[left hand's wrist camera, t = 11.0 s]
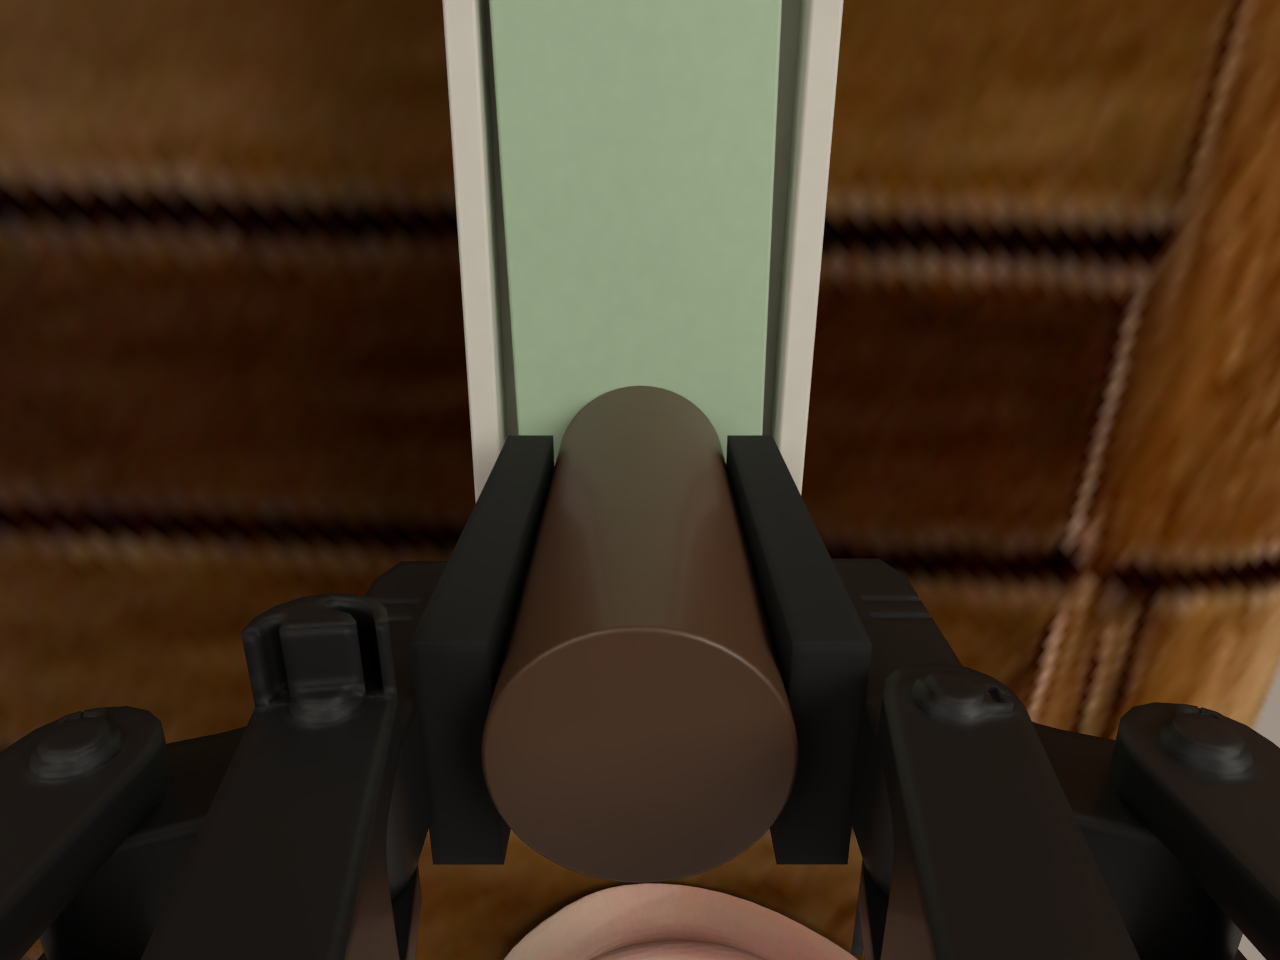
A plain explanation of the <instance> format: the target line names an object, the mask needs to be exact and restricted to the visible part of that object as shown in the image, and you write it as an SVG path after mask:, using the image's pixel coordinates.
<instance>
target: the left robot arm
mask: <svg viewBox="0 0 1280 960" xmlns="http://www.w3.org/2000/svg"><path fill="white" fill-rule="evenodd" d="M726 466H727V469H728V473H729V477H730V481H731V485H732V488H733V492H734V496H735V500H736V503H737V507H738V511H739V515H740V519H741V522H742V526H743V530H744V534H745V537H746V541H747V545H748V549H749V553H750V556H751V560H752V564H753V568H754V572H755V575H756V579H757V583H758V587H759V590H760V594H761V598H762V602H763V606H764V609H765V613H766V617H767V621H768V625H769V628H770V632H771V636H772V640H773V643H774V647H775V651H776V655H777V659H778V662H779V666H780V670H781V674H782V678H783V681H784V685H785V689H786V693H787V696H788V700H789V704H790V708H791V712H792V715H793V719H794V723H795V727H796V733H797V738H798V757H799V760H798V767H797V773H796V778H795V781H794V785H793V788H792V791H791V794H790V796H789V798H788V800H787V802H786V804H785V806H784V808H783V810H782V812H781V813H780V815H779V816H778V818H777V819H776V820H775V822H774V823H773V825H772V826H771V827H770V832H771V837H772V842H773V847H774V852H775V858H776V863H777V864H847V863H848V854H849V845H850V836H851V828H852V826H853V829H854V832H855V835H856V838H857V842H858V845H859V848H860V851H861V854H862V857H863V861H862V870H861V878H860V886H859V894H858V903H857V911H856V919H855V927H854V936H853V944H852V952H851V954H855V955H862V954H863V949H864V956H865V960H1247V959H1246V958H1245V957H1244V956H1243V954H1242V953H1241V952H1240V951H1239V950H1238V946H1239V943H1240V940H1241V937H1242V935H1243V934H1244V935H1245V936H1246V937H1247V938H1248V939H1249V940H1250V942H1251V943H1252V944H1253V945H1254V946H1255V947H1256V948H1257V950H1258V951H1259V952H1260V953H1261V954H1262V955H1263V956H1264V957H1265V959H1266V960H1280V748H1279V747H1278V746H1276V745H1275V744H1274V743H1273V742H1271V741H1269V740H1268V739H1266V738H1265V737H1263V736H1262V735H1260V734H1259V733H1257V732H1256V731H1254V730H1253V729H1251V728H1249V727H1248V726H1246V725H1244V724H1242V723H1239V722H1237V721H1235V720H1232V719H1230V718H1228V717H1225V716H1223V715H1222V714H1220V713H1218V712H1216V711H1212V710H1209V709H1205V708H1202V707H1201V709H1200V708H1197V706H1192V705H1186V704H1172V703H1156V702H1154V703H1150V704H1145V705H1140V706H1136V707H1132V708H1131V709H1130V710H1129V711H1128V712H1127V713H1126V714H1125V715H1123V716H1122V717H1121V720H1120V724H1119V728H1118V732H1117V736H1116V740H1111V739H1106V738H1101V737H1096V736H1090V735H1085V734H1080V733H1075V732H1070V731H1065V730H1060V729H1056V728H1052V727H1048V726H1045V725H1041V724H1037V723H1034V722H1032V721H1031V719H1030V717H1029V715H1028V713H1027V710H1026V708H1025V706H1024V705H1023V704H1022V702H1021V701H1020V700H1019V698H1018V697H1017V696H1016V695H1015V693H1014V692H1013V691H1012V690H1011V689H1009V688H1008V687H1006V686H1005V685H1003V684H1002V683H1000V682H999V681H997V680H996V679H994V678H993V677H991V676H988V675H986V674H983V673H980V672H978V671H975V670H973V669H970V668H967V667H963V666H962V664H961V663H960V661H959V660H958V658H957V657H956V655H955V653H954V652H953V650H952V649H951V647H950V646H949V644H948V642H947V641H946V639H945V638H944V636H943V635H942V633H941V631H940V630H939V628H938V627H937V625H936V624H935V622H934V620H933V619H932V618H929V613H928V611H927V609H926V608H925V606H924V605H923V603H922V602H921V601H919V600H918V595H917V594H916V592H915V591H914V589H913V587H912V586H911V584H910V583H909V581H908V580H907V578H906V576H904V575H903V574H901V573H900V572H898V571H897V570H895V569H894V568H892V567H891V566H889V565H888V564H886V563H885V562H883V561H882V560H880V559H831V557H830V555H829V553H828V551H827V549H826V547H825V545H824V543H823V541H822V538H821V536H820V534H819V532H818V530H817V528H816V526H815V524H814V522H813V520H812V518H811V515H810V513H809V511H808V509H807V507H806V505H805V503H804V501H803V499H802V497H801V495H800V492H799V490H798V488H797V486H796V484H795V482H794V480H793V478H792V476H791V474H790V472H789V469H788V467H787V465H786V463H785V461H784V459H783V457H782V455H781V453H780V451H779V449H778V446H777V444H776V442H775V440H774V438H773V436H772V435H727V457H726ZM553 470H554V442H553V435H508V437H507V439H506V441H505V443H504V446H503V448H502V450H501V452H500V454H499V456H498V458H497V460H496V462H495V464H494V467H493V469H492V471H491V473H490V475H489V477H488V479H487V481H486V483H485V485H484V487H483V490H482V492H481V494H480V496H479V498H478V500H477V502H476V504H475V506H474V508H473V510H472V513H471V515H470V517H469V519H468V521H467V523H466V525H465V527H464V529H463V531H462V533H461V536H460V538H459V540H458V542H457V544H456V546H455V548H454V550H453V552H452V554H451V557H450V559H449V561H402V562H400V563H399V564H397V565H396V566H394V567H393V568H391V569H390V570H388V571H387V572H385V573H384V574H382V575H381V576H379V577H378V578H376V579H375V581H374V582H373V584H372V585H371V587H370V589H369V590H368V592H367V593H366V595H365V596H361V595H357V594H343V593H327V594H321V595H314V596H308V597H302V598H299V599H295V600H292V601H289V602H286V603H283V604H280V605H277V606H275V607H273V608H271V609H270V610H268V611H266V612H264V613H262V614H261V615H259V616H257V617H255V618H254V619H253V620H252V621H251V622H250V623H249V624H248V625H247V626H246V628H245V629H244V630H243V631H242V632H241V634H242V640H243V645H244V650H245V655H246V660H247V665H248V671H249V676H250V681H251V686H252V691H253V697H254V702H255V710H254V712H253V714H252V716H251V718H250V721H249V723H248V725H247V726H246V727H243V728H239V729H235V730H231V731H227V732H224V733H219V734H214V735H209V736H204V737H199V738H194V739H189V740H184V741H179V742H174V743H169V744H166V742H165V738H164V734H163V729H162V725H161V721H160V720H158V719H157V718H156V717H155V716H154V715H153V714H152V713H150V712H149V711H147V710H142V709H138V708H133V707H128V706H123V707H106V708H95V709H89V710H85V711H84V712H81V711H79V712H76V713H73V714H69V715H66V716H64V717H62V718H60V719H59V720H56V721H54V722H52V723H49V724H47V725H45V726H42V727H40V728H38V729H35V730H34V731H32V732H31V733H29V734H28V735H26V736H25V737H23V738H22V739H20V740H19V741H17V742H16V743H14V744H12V745H11V746H9V747H8V748H7V749H6V750H4V751H3V752H2V753H1V754H0V960H20V959H21V958H22V957H23V955H24V954H25V953H26V952H27V951H28V950H29V949H30V948H31V946H32V945H33V944H34V943H35V942H36V941H37V940H38V938H40V941H41V944H42V947H43V950H44V953H43V954H42V955H41V956H40V957H39V959H38V960H415V958H416V949H417V940H418V931H419V922H420V913H421V904H422V894H421V886H420V878H419V870H418V860H419V857H420V854H421V851H422V848H423V845H424V841H425V838H426V835H427V832H428V829H429V832H430V840H431V849H432V858H433V864H504V860H505V855H506V850H507V845H508V840H509V835H510V829H511V828H510V827H509V826H508V825H507V823H506V822H505V821H504V819H503V818H502V816H501V815H500V814H499V812H498V810H497V808H496V807H495V805H494V803H493V801H492V799H491V797H490V794H489V791H488V788H487V785H486V783H485V780H484V775H483V769H482V764H481V743H482V736H483V729H484V725H485V721H486V718H487V714H488V710H489V707H490V703H491V700H492V696H493V692H494V688H495V685H496V681H497V677H498V674H499V670H500V666H501V663H502V659H503V655H504V651H505V648H506V644H507V640H508V637H509V633H510V629H511V625H512V622H513V618H514V614H515V611H516V607H517V603H518V600H519V596H520V592H521V588H522V585H523V581H524V577H525V574H526V570H527V566H528V563H529V559H530V555H531V551H532V548H533V544H534V540H535V537H536V533H537V529H538V526H539V522H540V518H541V514H542V511H543V507H544V503H545V500H546V496H547V492H548V489H549V485H550V481H551V477H552V474H553Z"/></svg>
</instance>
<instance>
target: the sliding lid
mask: <svg viewBox="0 0 1280 960" xmlns="http://www.w3.org/2000/svg"><path fill="white" fill-rule="evenodd" d="M489 6H490V20H491V35H492V50H493V65H494V80H495V94H496V109H497V124H498V139H499V154H500V168H501V183H502V198H503V213H504V228H505V243H506V257H507V272H508V287H509V302H510V317H511V331H512V346H513V361H514V376H515V391H516V405H517V420H518V435H553V442H554V470H553V474H552V477H551V481H550V485H549V489H548V492H547V496H546V500H545V503H544V507H543V511H542V514H541V518H540V522H539V526H538V529H537V533H536V537H535V540H534V544H533V548H532V551H531V555H530V559H529V563H528V566H527V570H526V574H525V577H524V581H523V585H522V588H521V592H520V596H519V600H518V603H517V607H516V611H515V614H514V618H513V622H512V625H511V629H510V633H509V637H508V640H507V644H506V648H505V651H504V655H503V659H502V663H501V666H500V670H499V674H498V677H497V681H496V685H495V688H494V692H493V696H492V700H491V703H490V707H489V710H488V714H487V718H486V721H485V725H484V729H483V736H482V743H481V764H482V769H483V775H484V780H485V783H486V785H487V788H488V791H489V794H490V797H491V799H492V801H493V803H494V805H495V807H496V808H497V810H498V812H499V814H500V815H501V816H502V818H503V819H504V821H505V822H506V823H507V825H508V826H509V827H510V828H511V829H512V830H513V831H514V833H515V834H516V835H517V836H518V837H519V838H520V839H521V840H522V841H524V842H525V843H526V844H527V845H529V846H530V847H531V848H532V849H533V850H535V851H536V852H538V853H539V854H541V855H543V856H544V857H546V858H547V859H549V860H551V861H553V862H555V863H557V864H559V865H561V866H563V867H565V868H567V869H570V870H573V871H575V872H578V873H581V874H584V875H587V876H592V877H596V878H600V879H604V880H611V881H618V882H633V883H648V882H662V881H669V880H675V879H681V878H685V877H688V876H692V875H696V874H699V873H702V872H705V871H707V870H710V869H713V868H715V867H717V866H719V865H721V864H723V863H725V862H727V861H729V860H731V859H733V858H734V857H736V856H737V855H739V854H740V853H742V852H744V851H745V850H747V849H748V848H749V847H750V846H751V845H753V844H754V843H755V842H756V841H757V840H759V839H760V838H761V837H762V836H763V835H764V834H765V832H766V831H767V830H768V829H769V828H770V827H771V826H772V825H773V823H774V822H775V820H776V819H777V818H778V816H779V815H780V813H781V812H782V810H783V808H784V806H785V804H786V802H787V800H788V798H789V796H790V794H791V791H792V788H793V785H794V781H795V778H796V773H797V767H798V760H799V757H798V738H797V733H796V727H795V723H794V719H793V715H792V712H791V708H790V704H789V700H788V696H787V693H786V689H785V685H784V681H783V678H782V674H781V670H780V666H779V662H778V659H777V655H776V651H775V647H774V643H773V640H772V636H771V632H770V628H769V625H768V621H767V617H766V613H765V609H764V606H763V602H762V598H761V594H760V590H759V587H758V583H757V579H756V575H755V572H754V568H753V564H752V560H751V556H750V553H749V549H748V545H747V541H746V537H745V534H744V530H743V526H742V522H741V519H740V515H739V511H738V507H737V503H736V500H735V496H734V492H733V488H732V485H731V481H730V477H729V473H728V469H727V466H726V457H727V435H762V430H763V408H764V386H765V364H766V342H767V320H768V298H769V276H770V254H771V232H772V210H773V188H774V166H775V144H776V122H777V100H778V78H779V56H780V34H781V12H782V0H489Z"/></svg>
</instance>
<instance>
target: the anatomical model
mask: <svg viewBox="0 0 1280 960" xmlns="http://www.w3.org/2000/svg"><path fill="white" fill-rule="evenodd" d="M504 960H858V959H856V958H855V957H854V956H853V955H851V954H850V953H848V952H847V951H845V950H844V949H842V948H841V947H839V946H838V945H836V944H835V943H833V942H831V941H830V940H828V939H826V938H824V937H823V936H821V935H819V934H817V933H816V932H814V931H812V930H810V929H808V928H807V927H805V926H803V925H801V924H799V923H797V922H795V921H793V920H791V919H789V918H787V917H785V916H783V915H781V914H779V913H777V912H775V911H772V910H770V909H768V908H765V907H763V906H760V905H758V904H755V903H753V902H750V901H747V900H744V899H741V898H738V897H735V896H731V895H728V894H725V893H722V892H717V891H712V890H708V889H703V888H698V887H691V886H684V885H674V884H651V883H644V884H631V885H622V886H617V887H612V888H608V889H604V890H601V891H598V892H595V893H592V894H590V895H587V896H585V897H583V898H581V899H579V900H577V901H575V902H573V903H571V904H569V905H567V906H565V907H564V908H562V909H561V910H559V911H558V912H556V913H555V914H553V915H552V916H551V917H549V918H548V919H546V920H545V921H543V922H542V923H541V924H539V925H538V926H537V927H536V928H534V929H533V930H532V931H531V932H529V933H528V934H527V935H526V936H525V937H524V938H523V939H522V940H521V941H520V942H519V943H518V944H517V945H516V946H515V947H513V948H512V950H511V951H510V952H509V954H508V955H507V956H506V958H505V959H504Z"/></svg>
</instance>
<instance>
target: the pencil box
mask: <svg viewBox="0 0 1280 960" xmlns="http://www.w3.org/2000/svg"><path fill="white" fill-rule="evenodd" d="M442 2H443V17H444V32H445V47H446V62H447V77H448V93H449V108H450V123H451V138H452V153H453V168H454V183H455V198H456V214H457V229H458V244H459V259H460V274H461V289H462V304H463V319H464V335H465V350H466V365H467V380H468V395H469V410H470V425H471V440H472V455H473V471H474V486H475V501H476V502H477V500H478V498H479V496H480V494H481V492H482V490H483V487H484V485H485V483H486V481H487V479H488V477H489V475H490V473H491V471H492V469H493V467H494V464H495V462H496V460H497V458H498V456H499V454H500V452H501V450H502V448H503V446H504V443H505V441H506V439H507V437H508V435H518V420H517V405H516V391H515V376H514V361H513V346H512V331H511V317H510V302H509V287H508V272H507V257H506V243H505V228H504V213H503V198H502V183H501V168H500V154H499V139H498V124H497V109H496V94H495V80H494V65H493V50H492V35H491V20H490V6H489V0H442ZM842 12H843V0H782V12H781V34H780V56H779V78H778V100H777V122H776V144H775V166H774V188H773V210H772V232H771V254H770V276H769V298H768V320H767V342H766V364H765V386H764V408H763V430H762V435H772V436H773V438H774V440H775V442H776V444H777V446H778V449H779V451H780V453H781V455H782V457H783V459H784V461H785V463H786V465H787V467H788V469H789V472H790V474H791V476H792V478H793V480H794V482H795V484H796V486H797V488H798V490H799V492H800V495H801V492H802V480H803V469H804V457H805V445H806V434H807V422H808V410H809V398H810V387H811V375H812V363H813V352H814V340H815V328H816V316H817V305H818V293H819V281H820V270H821V258H822V246H823V234H824V223H825V211H826V199H827V188H828V176H829V164H830V152H831V141H832V129H833V117H834V106H835V94H836V82H837V70H838V59H839V47H840V35H841V24H842Z"/></svg>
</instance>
